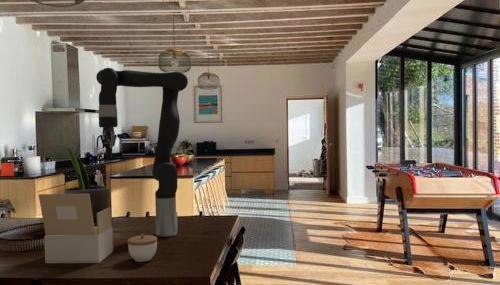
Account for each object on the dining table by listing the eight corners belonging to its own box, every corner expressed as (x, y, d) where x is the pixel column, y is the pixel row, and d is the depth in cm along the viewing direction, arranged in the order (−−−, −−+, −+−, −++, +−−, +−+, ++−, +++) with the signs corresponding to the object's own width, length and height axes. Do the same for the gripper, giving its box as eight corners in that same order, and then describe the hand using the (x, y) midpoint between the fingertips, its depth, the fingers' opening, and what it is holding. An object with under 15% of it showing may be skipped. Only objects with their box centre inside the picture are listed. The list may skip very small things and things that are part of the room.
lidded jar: (133, 255, 162) (132, 230, 162) (160, 254, 162) (160, 230, 162) (124, 264, 152) (123, 238, 151) (153, 263, 151) (152, 237, 151)
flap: (89, 193, 148) (88, 194, 148) (95, 234, 153) (94, 235, 152) (39, 194, 149) (38, 195, 148) (46, 234, 154) (45, 235, 153)
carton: (113, 251, 168) (112, 206, 167) (99, 262, 153) (97, 213, 153) (64, 251, 169) (62, 206, 168) (45, 263, 154) (43, 214, 154)
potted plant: (79, 220, 227) (77, 146, 226) (117, 221, 224) (115, 146, 223) (56, 230, 207) (54, 148, 205) (98, 230, 204) (95, 147, 202)
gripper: (111, 115, 171) (112, 157, 172) (122, 116, 184) (123, 155, 185) (92, 115, 171) (94, 158, 172) (105, 116, 185) (106, 156, 185)
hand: (109, 156), depth 178 cm, fingers closed
